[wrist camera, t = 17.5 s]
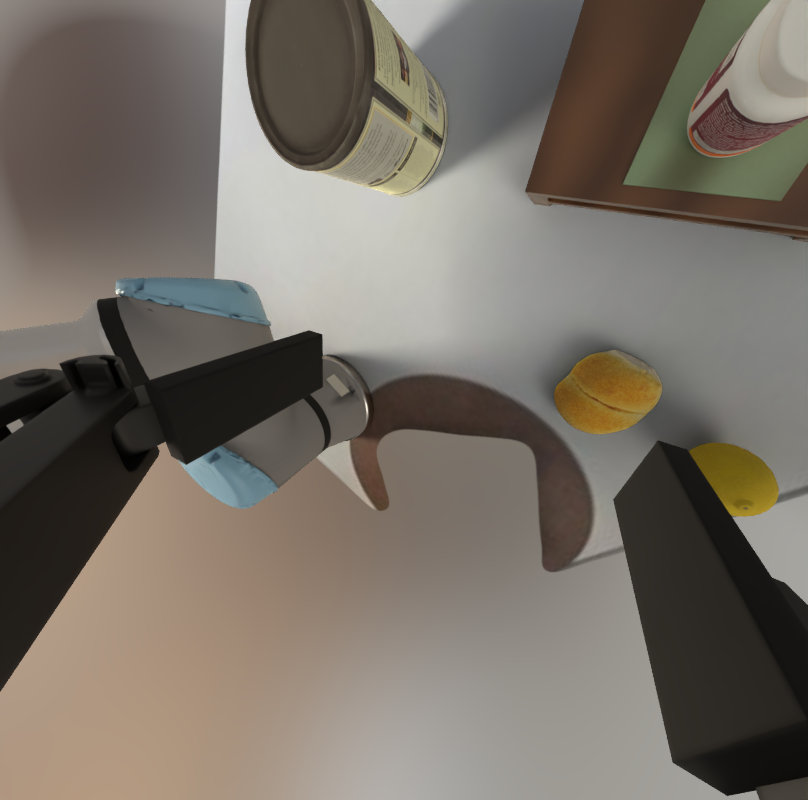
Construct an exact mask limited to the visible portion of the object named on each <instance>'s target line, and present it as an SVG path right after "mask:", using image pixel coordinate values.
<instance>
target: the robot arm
mask: <svg viewBox="0 0 808 800" xmlns="http://www.w3.org/2000/svg"><path fill="white" fill-rule="evenodd" d="M115 291H116V293H117V294H118V295H120V296H121V297H116V298H107V299H99V300H94V301H92V303H91V304H90V306H89V307H88V309H87V310H86V312H85V313H84V315H83V317H82V318H80V319H79V320H77V321H73V322H66V323H58V324H51V325H43V326H36V327H29V328H22V329H14V330H7V331H0V691H1V690H2V688H3V687H4V685H5V684H6V682H7V681H8V679H9V678H10V676H11V675H12V673H13V672H14V670H15V669H16V667H17V666H18V665H19V663H20V662H21V660H22V659H23V657H24V656H25V654H26V653H27V651H28V650H29V648H30V647H31V645H32V644H33V642H34V641H35V639H36V638H37V636H38V635H39V633H40V631H41V630H42V629H43V627H44V626H45V624H46V623H47V621H48V620H49V618H50V617H51V615H52V614H53V612H54V611H55V609H56V608H57V606H58V605H59V603H60V602H61V600H62V599H63V597H64V596H65V594H66V593H67V591H68V589H69V588H70V587H71V585H72V584H73V582H74V581H75V579H76V578H77V576H78V575H79V573H80V572H81V570H82V569H83V567H84V566H85V565H86V563H87V561H88V560H89V559H90V557H91V556H92V554H93V553H94V551H95V550H96V548H97V547H98V545H99V544H100V542H101V541H102V539H103V537H104V536H105V535H106V533H107V532H108V530H109V529H110V527H111V526H112V524H113V523H114V521H115V520H116V518H117V517H118V515H119V514H120V512H121V510H122V509H123V508H124V506H125V505H126V503H127V502H128V500H129V499H130V497H131V496H132V494H133V493H134V491H135V490H136V488H137V487H138V485H139V484H140V482H141V481H142V479H143V478H144V476H145V475H146V473H147V472H148V470H149V469H150V467H151V466H152V464H153V463H154V461H155V460H156V459H157V457H158V455H159V449H158V447H157V445H159V444H161V443H164V442H166V444H167V446H168V449H169V451H170V454H171V456H172V457H174V458H176V459H177V460H178V461H179V462H180V464H181V465H182V466H183V468H184V469H185V470H186V471H187V472H188V473H189V475H190V476H191V477H192V478H193V479H194V480H195V481H196V482H197V483H198V484H199V485H200V486H201V487H203V488H204V489H205V490H206V491H207V492H208V493H210V494H211V495H212V496H214V497H215V498H217V499H218V500H220V501H221V502H223V503H225V504H227V505H229V506H232V507H235V508H241V509H243V508H249V507H252V506H254V505H256V504H257V503H258V502H260V501H261V500H263V499H264V498H265V497H267V496H268V495H270V494H271V493H274V492H276V491H277V490H278V488H279V487H280V486H282V485H283V484H284V483H285V482H286V481H288V480H289V479H290V478H291V477H292V476H294V475H295V474H296V473H297V472H298V471H300V470H301V469H302V468H303V467H304V466H306V465H307V464H308V463H309V462H310V461H312V460H313V459H314V458H315V457H316V456H318V455H319V454H320V453H321V452H323V451H324V450H325V449H326V448H328V447H330V446H333V445H335V444H338V443H340V442H343V441H348V440H352V439H355V438H356V437H358V436H359V435H360V434H361V433H363V432H364V431H365V430H366V429H367V428H368V427H369V425H370V423H371V421H372V417H373V402H372V397H371V394H370V392H369V389H368V387H367V385H366V383H365V381H364V380H363V379H362V377H361V376H360V375H359V373H358V372H357V371H356V370H355V369H354V368H353V367H352V366H350V365H349V364H348V363H346V362H345V361H343V360H341V359H339V358H336V357H332V356H323V351H322V334H319V333H316V332H312V331H306V332H302V333H299V334H296V335H293V336H290V337H286V338H283V339H280V340H277V341H274V340H273V337H272V334H271V330H270V327H269V326H271V323H270V321H268V320H267V317H266V314H265V312H264V309H263V306H262V303H261V301H260V298H259V296H258V294H257V292H256V291H255V290H254V289H253V288H252V287H251V286H250V285H248V284H246V283H243V282H240V281H233V280H221V279H203V278H138V279H135V278H124V279H119V280H117V282H116V289H115ZM613 500H614V505H615V509H616V513H617V518H618V522H619V527H620V531H621V536H622V540H623V544H624V549H625V553H626V558H627V562H628V566H629V571H630V575H631V580H632V584H633V589H634V593H635V598H636V602H637V606H638V610H639V615H640V620H641V624H642V628H643V633H644V637H645V642H646V646H647V651H648V655H649V659H650V664H651V668H652V673H653V677H654V682H655V686H656V690H657V694H658V699H659V703H660V708H661V713H662V716H663V721H664V726H665V730H666V734H667V739H668V744H669V748H670V752H671V757H672V761H673V763H675V764H676V765H678V766H680V767H681V768H683V769H684V770H686V771H688V772H689V773H691V774H692V775H694V776H696V777H697V778H699V779H701V780H702V781H704V782H706V783H707V784H709V785H710V786H712V787H714V788H715V789H717V790H719V791H720V792H722V793H724V794H725V795H727V796H729V795H734V794H740V793H745V792H749V791H755V790H756V791H757V794H758V796H759V799H760V800H808V605H807V604H806V603H805V602H804V601H803V600H802V599H801V598H800V597H799V596H798V595H797V594H796V593H795V592H794V591H793V590H792V589H791V588H790V587H789V586H788V585H787V584H786V583H784V582H781V581H779V580H776V579H774V578H772V577H771V576H770V574H769V572H768V571H767V570H766V568H765V566H764V565H763V563H762V562H761V560H760V559H759V557H758V556H757V554H756V553H755V551H754V550H753V548H752V547H751V545H750V544H749V542H748V541H747V539H746V538H745V536H744V535H743V533H742V532H741V530H740V529H739V527H738V526H737V524H736V523H735V521H734V519H733V518H732V516H731V515H730V513H729V512H728V510H727V509H726V507H725V506H724V504H723V503H722V501H721V500H720V498H719V497H718V495H717V494H716V492H715V491H714V489H713V488H712V486H711V485H710V483H709V482H708V480H707V479H706V477H705V476H704V474H703V473H702V471H701V470H700V468H699V467H698V465H697V463H696V462H695V460H694V459H693V457H692V456H691V454H690V453H689V451H688V450H687V449H683V448H680V447H677V446H674V445H671V444H668V443H664V442H661V441H657V442H656V444H655V445H654V446H653V448H652V449H651V450H650V452H649V453H648V454H647V456H646V457H645V458H644V460H643V461H642V462H641V464H640V465H639V466H638V468H637V469H636V470H635V472H634V473H633V474H632V476H631V477H630V478H629V480H628V481H627V482H626V483H625V485H624V486H623V487H622V489H621V490H620V491H619V493H618V494H617V495H616V497H615V498H614V499H613Z"/></svg>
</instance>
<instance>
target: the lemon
mask: <svg viewBox="0 0 808 800" xmlns="http://www.w3.org/2000/svg"><path fill="white" fill-rule="evenodd" d="M689 453H690V454H691V456H692V457H693V459H694V460H695V462H696V463H697V465H698V467H699V468H700V470H701V471H702V473H703V474H704V476H705V477H706V479H707V480H708V482H709V483H710V485H711V486H712V488H713V489H714V491H715V492H716V494H717V495H718V497H719V498H720V500H721V501H722V503H723V504H724V506H725V507H726V509H727V510H728V512H729V513H730V515H732V516H754V515H758V514H761V513H763V512H765V511H767V510H769V509H770V508H771V507H772V506H773V505H774V504H775V502H776V501H777V499H778V492H779V489H778V485H777V482H776V479H775V476H774V474H773V472H772V471H771V470H770V468H769V467H768V466H767V465H766V464H765V463H764V462H763V461H762V460H761V459H760V458H759V457H757V456H756V455H754V454H753V453H751V452H749V451H748V450H746V449H743V448H741V447H738V446H735V445H731V444H726V443H707V444H703V445H699V446H697V447H695V448H693V449H691V450H690V451H689Z"/></svg>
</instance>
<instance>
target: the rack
mask: <svg viewBox="0 0 808 800" xmlns="http://www.w3.org/2000/svg"><path fill="white" fill-rule="evenodd" d="M769 1H770V0H584V3H583V6H582V10H581V13H580V16H579V19H578V23H577V26H576V29H575V32H574V35H573V39H572V42H571V45H570V48H569V52H568V55H567V58H566V61H565V65H564V68H563V71H562V74H561V78H560V81H559V84H558V87H557V90H556V94H555V97H554V100H553V103H552V107H551V110H550V113H549V116H548V120H547V123H546V126H545V129H544V133H543V136H542V139H541V142H540V145H539V149H538V152H537V155H536V158H535V162H534V165H533V168H532V171H531V175H530V178H529V181H528V184H527V188H526V193H527V194H528V196H529V197H530V199H531V200H532V201H533V203H534V204H537V205H544V206H551V204H557V205H565V206H572V207H579V208H587V209H594V210H602V211H609V212H617V213H624V214H631V215H639V216H646V217H654V218H661V219H669V220H676V221H683V222H691V223H698V224H706V225H713V226H721V227H728V228H735V229H743V230H750V231H758V232H765V233H773V234H780V235H787V236H794V237H793V239H792V240H798V241H806V242H808V119H806V120H804V121H803V122H801V123H799V124H797V125H795V126H794V127H792V128H790V129H788V130H787V131H785V132H783V133H782V134H780V135H778V136H776V137H775V138H773V139H771V140H769V141H767V142H766V143H764V144H762V145H760V146H758V147H756V148H754V149H752V150H750V151H748V152H745V153H742V154H739V155H736V156H731V157H724V158H714V157H708V156H705V155H703V154H701V153H699V152H697V151H696V150H695V149H694V148H693V146H692V145H691V143H690V141H689V139H688V135H687V123H688V117H689V113H690V110H691V108H692V105H693V103H694V101H695V98H696V97H697V95H698V93H699V92H700V90H701V88H702V87H703V85H704V84H705V83H706V81H707V80H708V79H709V77H710V76H711V75H712V73H713V72H714V71H715V70H716V68H717V67H718V66H719V65H720V63H721V62H722V61H723V59H724V58H725V57H726V56H727V54H728V53H729V52H730V50H731V49H732V48H733V47H734V45H735V44H736V43H737V41H738V40H739V39H740V38H741V37H742V35H743V34H744V33H745V31H746V30H747V29H748V28H749V26H750V25H751V24H752V22H753V21H754V20H755V18H756V17H757V15H758V14H759V13H760V12H761V10H762V9H763V8H764V7H765V6H766V5H767V4H768V3H769Z"/></svg>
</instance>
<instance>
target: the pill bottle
mask: <svg viewBox="0 0 808 800" xmlns="http://www.w3.org/2000/svg"><path fill="white" fill-rule="evenodd" d="M806 119H808V0H770V1H769V3H768V4H767V5H766V6H765V7H764V8H763V9H762V10H761V12H760V13H759V14H758V15H757V17H756V18H755V20H754V21H753V22H752V24H751V25H750V26H749V28H748V29H747V30H746V31H745V33H744V34H743V35H742V37H741V38H740V39H739V40H738V41H737V43H736V44H735V45H734V47H733V48H732V49H731V50H730V52H729V53H728V54H727V56H726V57H725V58H724V59H723V61H722V62H721V63H720V65H719V66H718V67H717V68H716V70H715V71H714V72H713V73H712V75H711V76H710V77H709V79H708V80H707V81H706V83H705V84H704V85H703V87H702V88H701V90H700V92H699V93H698V95H697V97H696V98H695V101H694V103H693V105H692V108H691V110H690V113H689V117H688V123H687V135H688V139H689V141H690V143H691V145H692V146H693V148H694V149H695V150H696V151H697V152H699V153H701V154H703V155H705V156H708V157H714V158H724V157H731V156H736V155H739V154H742V153H745V152H748V151H750V150H752V149H754V148H756V147H758V146H760V145H762V144H764V143H766V142H767V141H769V140H771V139H773V138H775V137H776V136H778V135H780V134H782V133H783V132H785V131H787V130H788V129H790V128H792V127H794V126H795V125H797V124H799V123H801V122H803V121H804V120H806Z"/></svg>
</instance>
